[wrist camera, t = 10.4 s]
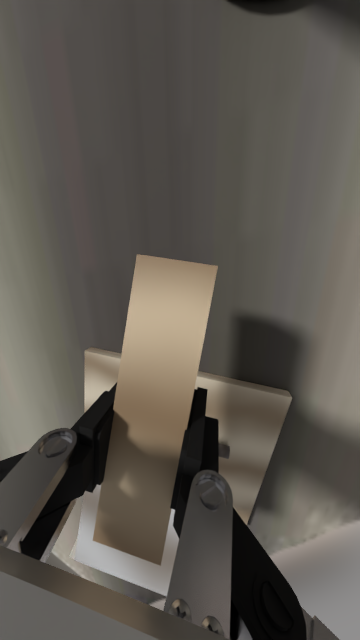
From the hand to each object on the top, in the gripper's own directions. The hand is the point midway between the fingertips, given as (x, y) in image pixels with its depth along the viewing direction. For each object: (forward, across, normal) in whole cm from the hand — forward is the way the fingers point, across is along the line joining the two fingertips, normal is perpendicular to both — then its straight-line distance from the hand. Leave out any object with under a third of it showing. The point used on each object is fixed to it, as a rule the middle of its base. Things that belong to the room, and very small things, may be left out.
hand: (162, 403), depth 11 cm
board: (+8, 0, +12) cm, 14 cm away
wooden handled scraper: (+1, 0, +3) cm, 3 cm away
